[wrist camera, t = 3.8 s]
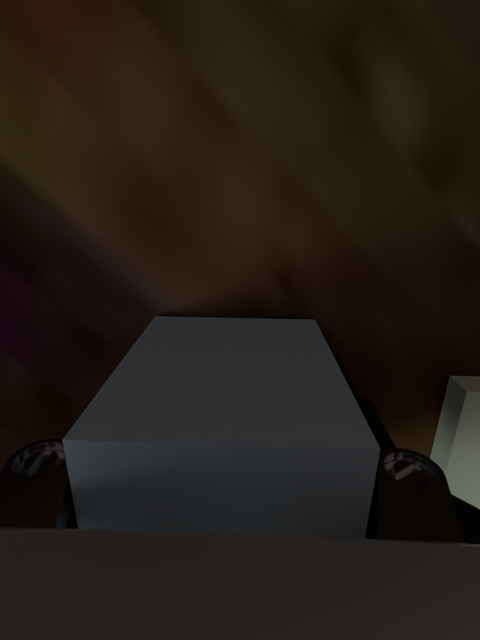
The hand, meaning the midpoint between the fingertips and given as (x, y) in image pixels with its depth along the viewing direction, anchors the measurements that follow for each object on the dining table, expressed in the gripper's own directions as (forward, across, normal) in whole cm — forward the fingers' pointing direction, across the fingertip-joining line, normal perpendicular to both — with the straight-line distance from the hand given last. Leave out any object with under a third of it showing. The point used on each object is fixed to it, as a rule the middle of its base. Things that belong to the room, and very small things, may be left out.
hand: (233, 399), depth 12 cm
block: (+1, 0, 0) cm, 1 cm away
